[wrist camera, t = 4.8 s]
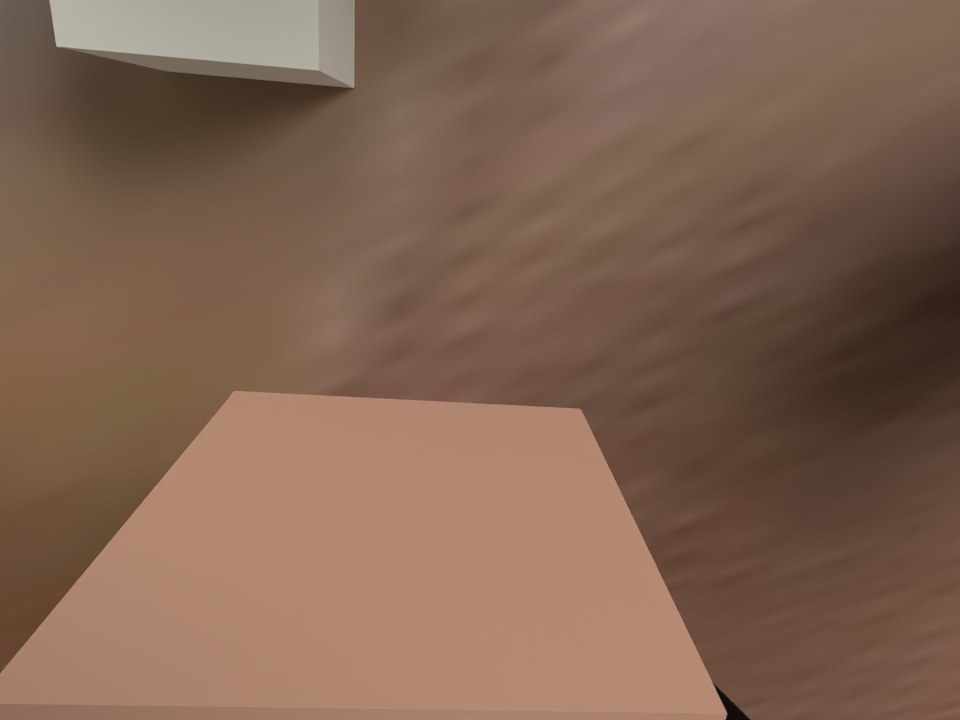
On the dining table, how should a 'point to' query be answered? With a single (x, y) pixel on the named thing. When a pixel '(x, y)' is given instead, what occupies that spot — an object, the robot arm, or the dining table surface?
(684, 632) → the terracotta block
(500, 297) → the dining table surface
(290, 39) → the offwhite block
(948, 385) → the dining table surface
